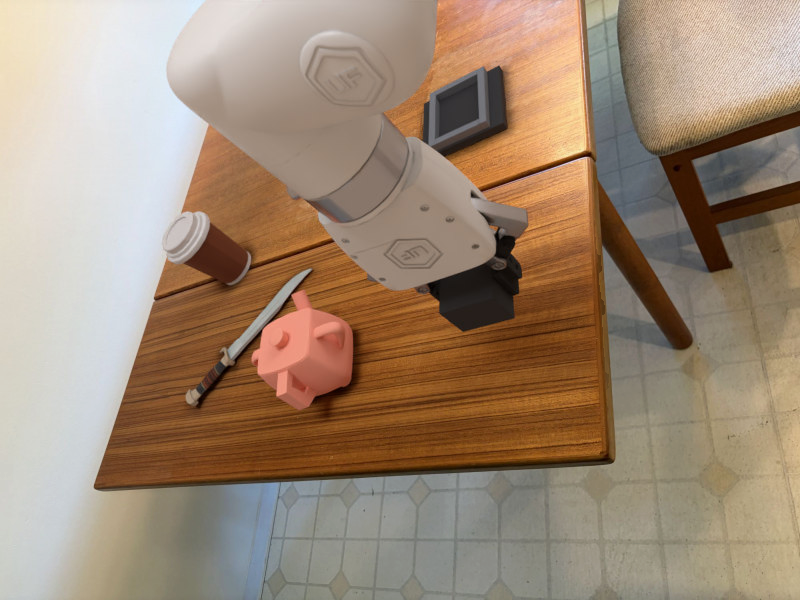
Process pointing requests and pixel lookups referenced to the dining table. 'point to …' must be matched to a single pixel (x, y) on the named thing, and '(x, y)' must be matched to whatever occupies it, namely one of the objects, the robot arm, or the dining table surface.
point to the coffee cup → (205, 248)
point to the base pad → (465, 111)
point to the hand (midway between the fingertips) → (484, 288)
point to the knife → (244, 339)
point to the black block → (474, 299)
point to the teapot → (305, 353)
